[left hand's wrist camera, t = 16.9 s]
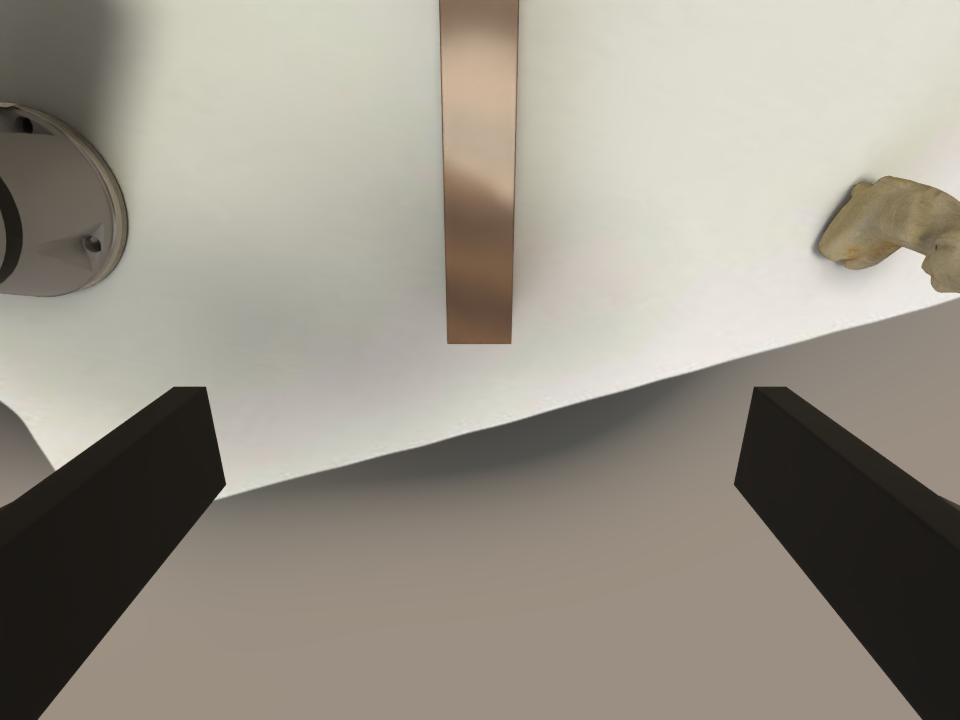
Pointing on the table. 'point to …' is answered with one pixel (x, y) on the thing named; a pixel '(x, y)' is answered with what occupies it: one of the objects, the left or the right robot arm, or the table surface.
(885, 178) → the sculpture
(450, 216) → the post
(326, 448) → the table surface
